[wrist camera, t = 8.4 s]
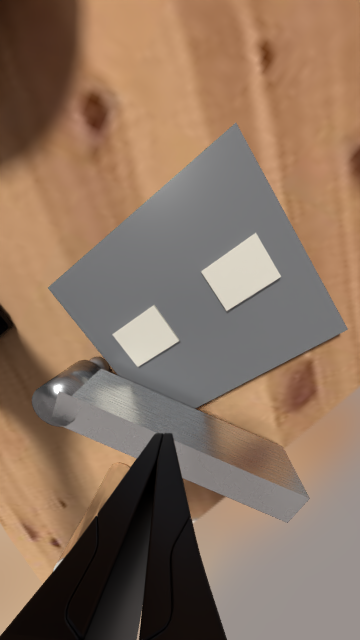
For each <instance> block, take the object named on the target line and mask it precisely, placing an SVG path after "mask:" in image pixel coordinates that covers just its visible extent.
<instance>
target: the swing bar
mask: <svg viewBox="0 0 360 640" xmlns="http://www.w3.org/2000/svg"><path fill="white" fill-rule="evenodd" d="M32 405H33V408H34V410H35V412H36V414H37V415H38V416H39V417H40V418H41V419H42V420H43V421H45V422H46V423H48V424H50V425H53V426H58V427H65V428H67V429H69V430H72V431H74V432H76V433H79V434H81V435H83V436H86V437H88V438H90V439H93V440H95V441H97V442H100V443H102V444H104V445H107V446H109V447H111V448H114V449H116V450H118V451H121V452H123V453H125V454H128V455H130V456H132V457H135V458H138V456H139V455H140V454H141V452H142V451H143V449H144V448H145V447H146V445H147V444H148V442H149V441H150V440H151V438H152V437H153V435H154V434H155V433H163V434H164V433H172V434H173V438H174V443H175V447H176V452H177V456H178V461H179V465H180V470H181V474H182V478H184V479H186V480H188V481H191V482H193V483H195V484H198V485H200V486H203V487H205V488H207V489H210V490H212V491H214V492H217V493H219V494H221V495H224V496H226V497H228V498H231V499H233V500H235V501H238V502H240V503H242V504H245V505H247V506H249V507H252V508H254V509H256V510H259V511H261V512H263V513H266V514H268V515H270V516H273V517H275V518H277V519H280V520H282V521H284V522H287V523H288V522H289V521H290V520H291V519H292V517H293V516H294V515H295V514H296V513H297V512H298V511H299V510H300V509H301V508H302V506H303V505H304V504H305V503H306V502H307V501H308V500H309V496H308V494H307V492H306V491H305V489H304V487H303V485H302V483H301V481H300V479H299V477H298V475H297V473H296V471H295V469H294V467H293V466H292V464H291V462H290V460H289V458H288V456H287V454H286V452H285V450H284V448H283V447H282V446H280V445H278V444H275V443H273V442H271V441H268V440H266V439H264V438H261V437H259V436H257V435H254V434H252V433H250V432H247V431H245V430H243V429H240V428H238V427H236V426H234V425H231V424H229V423H227V422H224V421H222V420H220V419H217V418H215V417H213V416H210V415H208V414H206V413H203V412H201V411H199V410H196V409H194V408H192V407H189V406H187V405H185V404H182V403H180V402H178V401H175V400H173V399H171V398H168V397H166V396H164V395H162V394H159V393H157V392H155V391H152V390H150V389H148V388H145V387H143V386H141V385H138V384H136V383H134V382H131V381H129V380H127V379H124V378H122V377H120V376H117V375H115V374H113V373H110V372H108V371H106V370H103V369H101V368H100V367H99V366H98V365H97V364H96V363H94V362H92V361H88V360H81V361H78V362H76V363H75V364H73V365H72V366H70V367H69V368H67V369H66V370H64V371H63V372H61V373H60V374H59V375H57V376H56V377H54V378H53V379H51V380H50V381H48V382H47V383H45V384H44V385H42V386H41V387H39V388H38V389H37V390H36V391H35V392H34V394H33V397H32Z"/></svg>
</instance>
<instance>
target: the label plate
mask: <svg viewBox="0 0 360 640" xmlns="http://www.w3.org/2000/svg"><path fill="white" fill-rule="evenodd" d="M48 289H49V290H50V291H51V292H52V294H53V295H54V296H55V297H56V299H57V300H58V301H59V302H60V304H61V305H62V306H63V307H64V309H65V310H66V311H67V312H68V314H69V315H70V316H71V317H72V319H73V320H74V321H75V322H76V323H77V325H78V326H79V327H80V328H81V330H82V331H83V332H84V333H85V335H86V336H87V337H88V338H89V340H90V341H91V342H92V343H93V345H94V346H95V347H96V348H97V350H98V351H99V352H100V353H101V355H102V356H103V357H104V358H105V359H106V360H105V359H103V358H101V357H94V358H92V359H90V360H89V361H92V362H94V363H96V364H97V365H98V366H99V367H100V368H101V369H103V370H106V371H108V372H109V370H110V367H109V364H110V366H111V367H112V368H113V369H114V371H115V372H116V373H117V374H118V376H120V377H122V378H124V379H127V380H129V381H131V382H134V383H136V384H138V385H141V386H143V387H145V388H148V389H150V390H152V391H155V392H157V393H159V394H162V395H164V396H166V397H168V398H171V399H173V400H175V401H178V402H180V403H182V404H185V405H187V406H189V407H192V408H194V409H195V408H197V407H199V406H201V405H203V404H205V403H207V402H209V401H211V400H213V399H215V398H217V397H218V396H220V395H222V394H224V393H226V392H228V391H230V390H232V389H234V388H236V387H238V386H240V385H242V384H244V383H245V382H247V381H249V380H251V379H253V378H255V377H257V376H259V375H261V374H263V373H265V372H267V371H269V370H271V369H273V368H274V367H276V366H278V365H280V364H282V363H284V362H286V361H288V360H290V359H292V358H294V357H296V356H298V355H300V354H301V353H303V352H305V351H307V350H309V349H311V348H313V347H315V346H317V345H319V344H321V343H323V342H325V341H327V340H329V339H330V338H332V337H334V336H336V335H338V334H340V333H342V332H344V331H346V330H348V329H347V327H346V325H345V323H344V321H343V319H342V318H341V316H340V314H339V312H338V310H337V308H336V307H335V305H334V303H333V301H332V299H331V297H330V295H329V294H328V292H327V290H326V288H325V286H324V284H323V283H322V281H321V279H320V277H319V275H318V273H317V271H316V270H315V268H314V266H313V264H312V262H311V260H310V258H309V257H308V255H307V253H306V251H305V249H304V247H303V246H302V244H301V242H300V240H299V238H298V236H297V234H296V233H295V231H294V229H293V227H292V225H291V223H290V222H289V220H288V218H287V216H286V214H285V212H284V210H283V209H282V207H281V205H280V203H279V201H278V199H277V197H276V196H275V194H274V192H273V190H272V188H271V186H270V185H269V183H268V181H267V179H266V177H265V175H264V173H263V172H262V170H261V168H260V166H259V164H258V162H257V161H256V159H255V157H254V155H253V153H252V151H251V149H250V148H249V146H248V144H247V142H246V140H245V138H244V136H243V135H242V133H241V131H240V129H239V127H238V125H237V124H236V123H235V124H234V125H233V126H232V127H230V128H229V129H228V130H227V131H226V132H225V133H224V134H222V135H221V136H220V137H219V138H218V139H217V140H216V141H214V142H213V143H212V144H211V145H210V146H209V147H208V148H207V149H205V150H204V151H203V152H202V153H201V154H200V155H199V156H197V157H196V158H195V159H194V160H193V161H192V162H191V163H189V164H188V165H187V166H186V167H185V168H184V169H183V170H181V171H180V172H179V173H178V174H177V175H176V176H175V177H173V178H172V179H171V180H170V181H169V182H168V183H167V184H165V185H164V186H163V187H162V188H161V189H160V190H159V191H158V192H156V193H155V194H154V195H153V196H152V197H151V198H150V199H148V200H147V201H146V202H145V203H144V204H143V205H142V206H140V207H139V208H138V209H137V210H136V211H135V212H134V213H132V214H131V215H130V216H129V217H128V218H127V219H126V220H124V221H123V222H122V223H121V224H120V225H119V226H118V227H117V228H115V229H114V230H113V231H112V232H111V233H110V234H109V235H107V236H106V237H105V238H104V239H103V240H102V241H101V242H99V243H98V244H97V245H96V246H95V247H94V248H93V249H91V250H90V251H89V252H88V253H87V254H86V255H85V256H83V257H82V258H81V259H80V260H79V261H78V262H77V263H75V264H74V265H73V266H72V267H71V268H70V269H69V270H68V271H66V272H65V273H64V274H63V275H62V276H61V277H60V278H58V279H57V280H56V281H55V282H54V283H53V284H52V285H50V286H49V287H48ZM108 363H109V364H108Z"/></svg>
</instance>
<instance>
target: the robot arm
mask: <svg viewBox="0 0 360 640" xmlns="http://www.w3.org/2000/svg"><path fill="white" fill-rule="evenodd" d="M11 328H12V323H11V322H10V321H9V319H8V318H7V317H6V316H5V315H4V314H3V313H2V311H1V310H0V338H1V337H2V336H3V335H4V334H5V333H7V332H8V331H9V330H10V329H11ZM142 605H143V606H142ZM141 611H142V616H141ZM140 617H141V627H140V636H139V640H227V638H226V635H225V632H224V629H223V626H222V623H221V620H220V616H219V613H218V611H217V607H216V604H215V601H214V598H213V595H212V592H211V589H210V586H209V582H208V579H207V576H206V573H205V569H204V566H203V563H202V559H201V556H200V552H199V548H198V544H197V540H196V536H195V532H194V527H193V523H192V519H191V514H190V510H189V505H188V501H187V496H186V492H185V487H184V483H183V478H182V474H181V470H180V465H179V461H178V456H177V452H176V447H175V443H174V438H173V434H172V433H164V434H163V433H155V434H154V435H153V437H152V438H151V440H150V441H149V442H148V444H147V445H146V447H145V448H144V449H143V451H142V452H141V454H140V455H139V456H138V458H137V459H136V460H135V462H134V463H133V465H132V466H131V467H130V469H129V470H128V472H127V473H126V474H125V476H124V477H123V479H122V480H121V481H120V483H119V484H118V486H117V487H116V488H115V490H114V491H113V493H112V494H111V495H110V497H109V498H108V499H107V501H106V502H105V504H104V505H103V506H102V508H101V509H100V511H99V512H98V514H97V516H95V517H94V519H93V520H92V522H91V523H90V524H89V526H88V527H87V529H86V530H85V531H84V533H83V534H82V535H81V537H80V538H79V539H78V541H77V542H76V543H75V545H74V546H73V547H72V549H71V550H70V551H69V552H68V554H67V555H66V556H65V557H64V559H63V560H62V561H61V562H60V564H59V565H58V566H57V567H56V569H55V570H54V571H53V572H52V574H51V575H50V576H49V577H48V579H47V580H46V581H45V582H44V583H43V585H42V586H41V587H40V588H39V590H38V591H37V592H36V593H35V594H34V596H33V597H32V598H31V599H30V601H29V602H28V603H27V604H26V605H25V606H24V608H23V609H22V610H21V611H20V613H19V614H18V615H17V616H16V618H15V619H14V620H13V621H12V623H11V624H10V625H9V626H8V627H7V628H6V630H5V631H4V632H3V633H2V634H1V636H0V640H136V639H137V634H138V628H139V622H140Z"/></svg>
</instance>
